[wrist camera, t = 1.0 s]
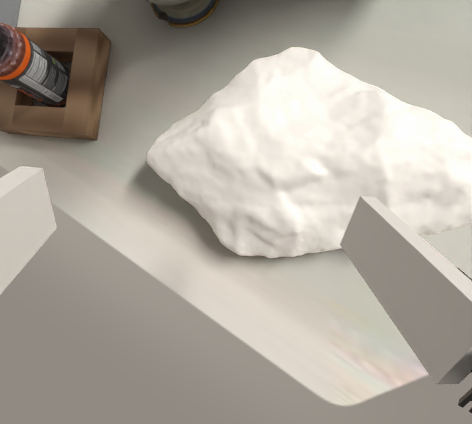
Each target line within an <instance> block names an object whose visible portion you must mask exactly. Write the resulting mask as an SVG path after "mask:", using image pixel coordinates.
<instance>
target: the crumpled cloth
mask: <svg viewBox="0 0 472 424" xmlns="http://www.w3.org/2000/svg"><path fill="white" fill-rule="evenodd" d="M146 161H147V163H148V165H150V166H151V167H152V168H153V169H154V171H155V172H156V173H157V174H158V175H159V176H160V177H161V178H162V179H163V180H164V181H166V182H167V183H169V184H171V185H172V187H173V188H174V189H175V190H176V191H177V193H178V195H179V196H180V197H182V198H183V199H184V200H186V201H187V202H189V203H190V204H191V205H193V206H194V207H195V208H196V209H197V211H198V212H199V214H200V215H201V216H202V217H203V218H204V219H205V220H206V221H207V222H208V223H209V224H210V226H211V227H212V229H213V231H214V233H215V234H216V236H217V237H218V238H219V240H220V242H221V244H223V245H224V246H225V247H226V248H228V249H230V250H232V251H233V252H234V253H236V254H238V255H240V256H255V255H262V256H265V257H267V258H277V257H286V256H287V257H295V256H301V255H303V254H306V253H317V252H326V251H332V250H336V249H340V248H342V247H341V245H340V243H341V241H342V238H343V236H344V233H345V231H346V229H347V226H348V224H349V221H350V219H351V217H352V214H353V212H354V209H355V207H356V205H357V202H358V200H359V197H360V196H366V197H376V198H377V199H378V200H379V201H380V202H381V203H383V204H384V205H385V206H386V207H387V208H388V209H389V210H391V211H392V212H393V213H394V214H395V215H396V216H398V217H399V218H400V219H401V220H402V221H403V222H404V223H406V224H407V225H408V226H409V227H410V228H411V229H413V230H414V231H415V232H416V233H417V234H418V235H429V234H436V233H439V232H444V231H447V230H451V229H455V228H458V227H461V226H465V225H468V224H470V223H472V137H469V136H467V135H466V134H464V133H463V132H462V131H461V130H460V129H459V128H458V127H457V126H456V125H455V124H454V123H453V122H452V121H449V120H446V119H443V118H442V117H440V116H439V115H437V114H436V113H433V112H431V111H429V110H427V109H424V108H421V107H417V106H413V105H409V104H407V103H404V102H402V101H400V100H398V99H397V98H395V97H393V96H391V95H390V94H388V93H387V92H386V91H384V90H382V89H380V88H379V87H377V86H374V85H370V84H367V83H365V82H363V81H360V80H358V79H356V78H354V77H353V76H351V75H350V74H348V73H345V72H343V71H341V70H339V69H338V68H336V67H335V66H334V65H332V64H331V63H330V62H328V61H327V60H326V59H325V58H324V57H323V56H322V55H321V54H320V53H319V52H317V51H314V50H311V49H306V48H302V47H290V48H288V49H286V50H284V51H283V52H281V53H279V54H276V55H273V56H270V57H263V58H259V59H255V60H253V61H251V62H250V64H249V65H248V66H247V67H246V68H245V69H244V70H242V71H241V72H239V73H238V74H237V75H236V76H235V77H234V78H233V79H232V80H231V81H230V82H229V84H228V85H227V86H226V87H225V88H223V89H222V90H220V91H218V92H216V93H214V94H213V95H211V96H210V97H209V99H208V100H207V101H205V102H204V104H203V105H202V106H201V107H200V108H199V109H198V110H196V111H195V112H193V113H191V114H189V115H187V116H186V117H184V118H182V119H181V120H179V121H177V122H175V123H174V124H173V125H172V126H171V127H170V128H169V129H168V130H167V131H166V132H164V133H163V134H161V135H160V136H159V137H158V138H157V139H156V140H155V142H154V144H153V146H152V147H151V148H150V149H149V151H148V152H147V155H146Z"/></svg>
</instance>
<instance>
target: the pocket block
mask: <svg viewBox="0 0 472 424" xmlns="http://www.w3.org/2000/svg"><path fill="white" fill-rule="evenodd" d="M14 28H15V29H17V30H18V31H20V32H21V33H22V34H24V35H25V36H26V37H28V38H29V39H30V40H31V41H33V42H34V43H35V44H37V45H38V46H39V47H40V48H42V49H43V50H44V51H46V52H47V53H48V54H50V55H51V56H52V57H53V58H55V59H56V60H57V61H58V62H65V63H72V67H71V73H70V80H69V87H68V94H67V100H66V107H65V108H57V107H40V106H33V99H34V98H32V97H31V96H29V95H27V94H25V93H23V92H21V91H20V90H18V89H16V88H14V87H12V86H10V85H8V84H6V83H4V82H3V81H1V80H0V130H1V131H4V132H7V133H12V134H25V135H38V136H51V137H64V138H76V139H89V140H97V135H98V128H99V121H100V114H101V107H102V100H103V93H104V86H105V79H106V72H107V65H108V58H109V51H110V44H111V41H110V40H109V39H108V38H107V37H106V36H105V34H104V33H103V32H102V31H101V30H100V29H99V28H20V27H14Z"/></svg>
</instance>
